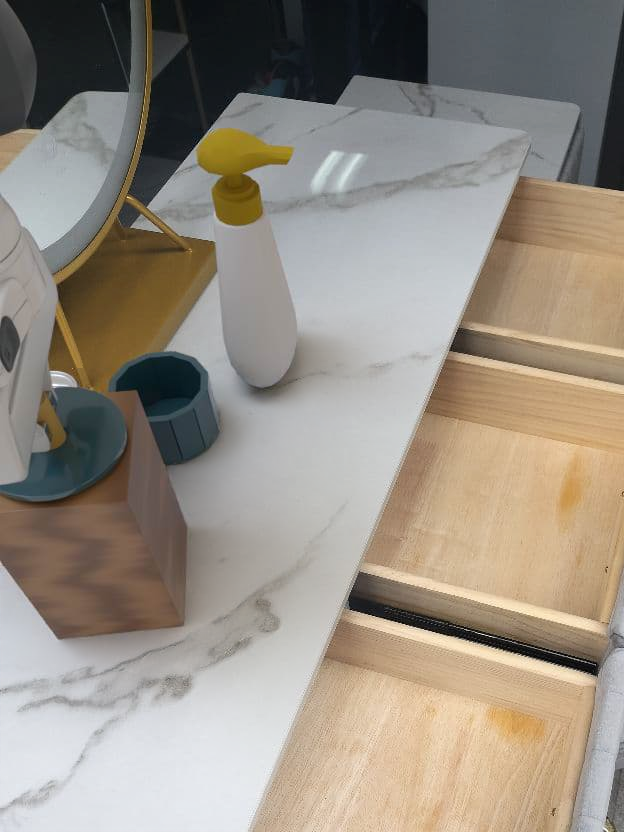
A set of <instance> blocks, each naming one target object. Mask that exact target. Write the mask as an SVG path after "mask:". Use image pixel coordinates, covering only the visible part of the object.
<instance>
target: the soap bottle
mask: <svg viewBox="0 0 624 832" xmlns="http://www.w3.org/2000/svg"><path fill="white" fill-rule="evenodd" d="M195 151H196V152H195V153H196V158H197V163H198V166H199V168H201V169H203V170H204V172H207V173H208V174H213V175H217V176H221V177H219V178H218V179H217V180H216V182H215V184H213V186H212V188H211V197H212V203H213V207H214V211H213V214H212V221H213V223H212V224H213V234H214V245H215V257H216V259H215V260H216V269H217V279H218V291H219V292H218V294H219V302H220V303H219V304H220V305H219V306H220V315H221V316H220V317H221V327H222V339H223V342H224V347H225V351H226V354H227V357H228V361H229V362H230V365H231V367H232V368H233V370H234V371H235V373H236V374H237V375H238V377H240V378H241V379H242V380H243V381H244V382H245V383H247V384H248V385H251V386H252V387H257V388H261V389H262V388H268V387H272V386H273V385H275V384H277V383H278V382H279V381H281V380H282V378H283V377H284V376H285V375H286V373H287V371H289V369H290V367H291V364H292V362H293V359H294V356H295V354H296V349H297V343H298V320H297V314H296V313H297V312H296V310H295V306H294V302H293V299H292V294H291V291H290V288H289V284H288V280H287V277H286V274H285V270H284V267H283V263H282V260H281V256H280V252H279V249H278V248H279V247H278V245H277V241H276V237H275V234H274V231H273V227H272V223H271V220H270V215H269V213H268V210H267V208H266V207H265V206H264V204H263V202H262V201H263V200H262V196H261V189H260V187H261V186H260V185H259V183H258V182H257V181H256V179H253V178H252V177H251V176H250V175H247V174H245V173H248V172H250V171H253V170H256V169H259V168H262V167H266V166H271V165H272V166H273V165H275V166H288V165H289V162H290V160H291V158H292V156H293V154H294V151H295V147H294V146H289V145H271V144H267V143H266V142H264V141H263V140H261V139H260V138H259V137H257V136H256V135H254V134H251V133H248V132H247V131H244V130H241V129H240V128H234V127H223V128H218V129H215V130H213V131H211V132H209V133H208V134H207V135H206V136H205V137H204V138H203V140H202V141H200V143H199V145H198V147H197V148H196V150H195Z"/></svg>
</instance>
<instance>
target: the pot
mask: <svg viewBox="0 0 624 832" xmlns="http://www.w3.org/2000/svg"><path fill="white" fill-rule="evenodd" d="M212 386H213V385H212V382H211V379H210V375H209V371H208V370H207V369H206V368H205V367H204V366H203V364H202V363H201V362H200V361H199V360H198V359H197V357H196V358H195V357H194V356H191V355H189V354H186V353H182V352H179V351H177V350H176V351H175V350H174V351H173V350H166V351H155V352H153V351H152V352H147V353H144V354H142V355H140V356H138V357H137V356H136V357H135V358H134V359H130V360H128V361H127V362H124V364H122V365H121V366H120V368H119V369H118V370H117V371H116V372H115V373H114V374H113V376H112V377H111V378H110V379H109V380H108V389H107V393H109V392H121V391H133V390H137V393H138V395H139V398H140V401H141V403H142V406H143V409H144V411H145V414H146V417H147V420H148V422H149V425H150V428H151V430H152V433H153V436H154V438H155V441H156V444H157V446H158V449H159V452H160V455H161V457H162V460H163V463H164V465H165V466H168V465H178V464H182V463H186V462H188V461H192V460H193V459H195V458H197V457H200V455H202V454H203V453H205V452H206V451H207V450H209V449H210V447H212V445H213V444H214V443H215V441H216V439H217V437H218V435H219V432H220V424H221V423H220V413H219V409H218V405H217V401H216V398H215V394H214V389H213V387H212Z"/></svg>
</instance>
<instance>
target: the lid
mask: <svg viewBox="0 0 624 832" xmlns="http://www.w3.org/2000/svg"><path fill="white" fill-rule="evenodd" d="M53 389H54V391H55V393H56V395H57V397H58V402H57V407H56V412H55V411H54V409H53V407H52V405H51V403H50V401H49V399H48V397H47V395H46V393H45V392H44V391H43V390H42V396H41V401H40V407H39V413H38V418H37V422H46V423H47V425H48V427H49V430H50V431H51V433H52V439H51V445H50V450H49V451H47V452H35V453H31V458H30V464H29V471H28V475H27V478H26V479H25V480H23V481H21V482H16V483H11V484H3V485H0V494H2V495H4V496H7V497H10V498H13V499H16V500H22V501H33V502H37V501H49V500H56V499H60V498H64V497H67V496H70V495H73V494H76V493H78V492H80V491H83V490H85V489H86V488H88V487H90V486H92V485H93V484H95V483H96V482H98V481H99V480H100V479H102V478H103V477H104V476H105V475H106V474H107V473H109V472H110V470H111V469H112V468H113V467H114V466H115V465H116V463H117V462H118V460H119V459H120V457H121V455H122V453H123V451H124V448H125V445H126V441H127V427H126V423H125V420H124V417H123V415H122V413H121V411H120V410H119V408H118V407H117V406H116V405H115V403H114V402H112V401H111V400H110V399H109V398H107V397H106V396H104V395H102V394H100V393H101V392H98V391H95V390H92V389H89V388H84V387H81V388H79V387H56V388H53Z"/></svg>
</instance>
